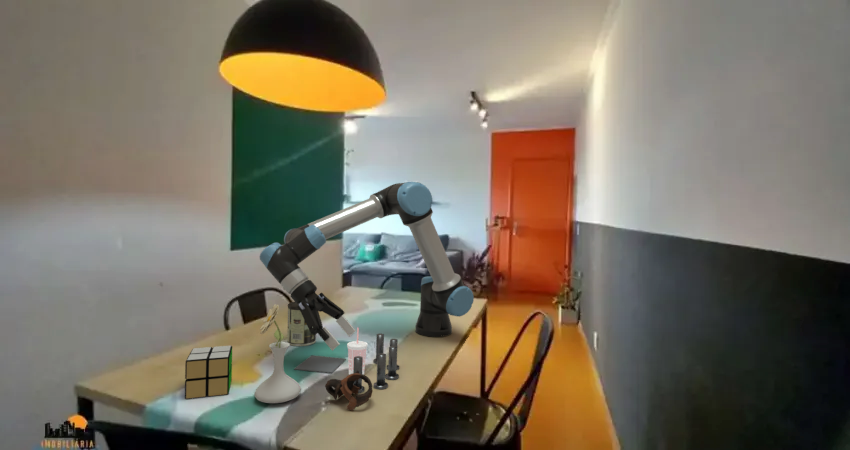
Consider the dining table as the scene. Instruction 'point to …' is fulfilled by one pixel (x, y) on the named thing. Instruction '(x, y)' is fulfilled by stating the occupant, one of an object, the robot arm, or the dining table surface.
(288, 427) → the dining table surface
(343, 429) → the dining table surface
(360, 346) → the beverage cup
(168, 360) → the dining table surface
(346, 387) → the pottery mug
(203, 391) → the puzzle cube
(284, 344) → the flower in vase
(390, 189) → the robot arm
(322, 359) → the mat
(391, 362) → the posts
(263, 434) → the dining table surface
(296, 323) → the coffee can
